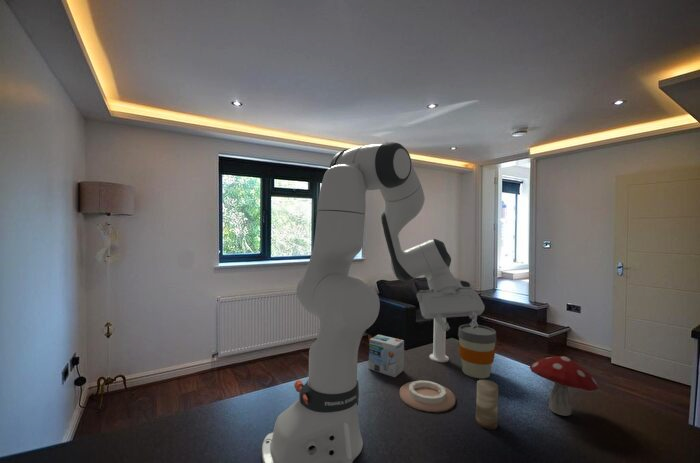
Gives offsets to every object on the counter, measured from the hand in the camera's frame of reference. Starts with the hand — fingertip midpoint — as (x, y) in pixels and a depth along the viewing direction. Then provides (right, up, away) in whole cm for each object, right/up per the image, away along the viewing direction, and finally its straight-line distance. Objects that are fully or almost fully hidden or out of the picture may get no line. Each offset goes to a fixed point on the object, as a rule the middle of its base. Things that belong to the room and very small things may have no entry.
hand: (461, 328), depth 94 cm
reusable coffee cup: (+11, -21, +17) cm, 29 cm away
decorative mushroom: (+26, -21, -6) cm, 34 cm away
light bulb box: (-20, -20, +18) cm, 34 cm away
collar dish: (-10, -20, 0) cm, 23 cm away
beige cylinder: (+2, -21, -12) cm, 24 cm away
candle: (+1, -20, +29) cm, 35 cm away
